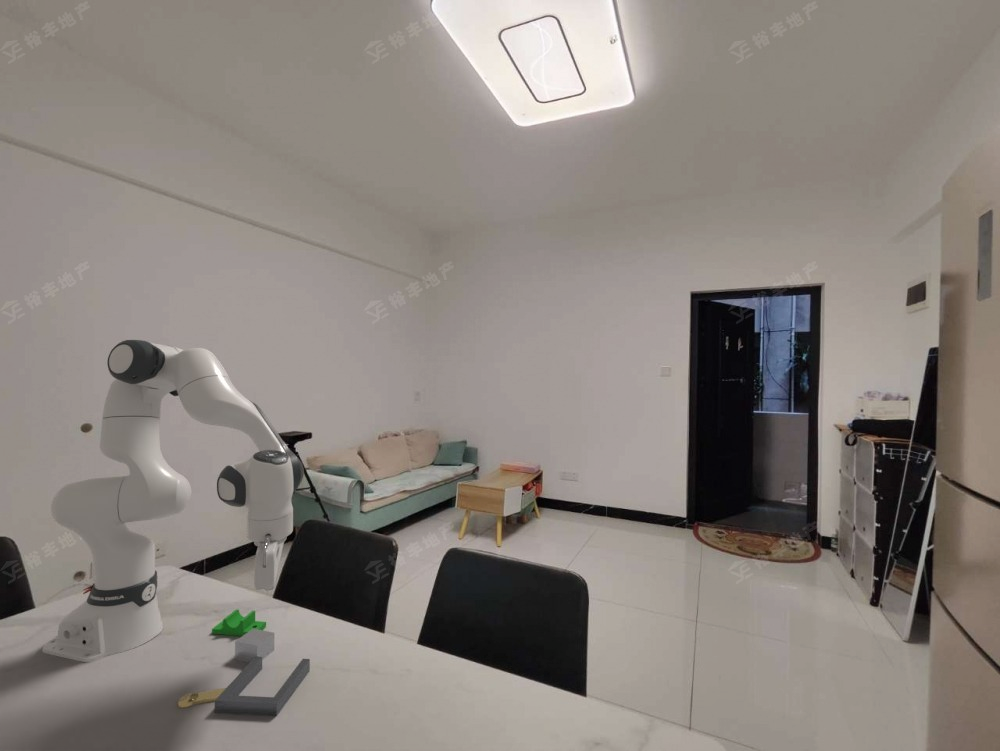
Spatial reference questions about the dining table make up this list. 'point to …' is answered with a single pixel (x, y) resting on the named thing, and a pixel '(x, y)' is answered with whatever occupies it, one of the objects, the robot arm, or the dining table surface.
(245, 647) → the block
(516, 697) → the dining table surface
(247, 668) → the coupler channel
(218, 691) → the brass key
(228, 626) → the pipe clamp
